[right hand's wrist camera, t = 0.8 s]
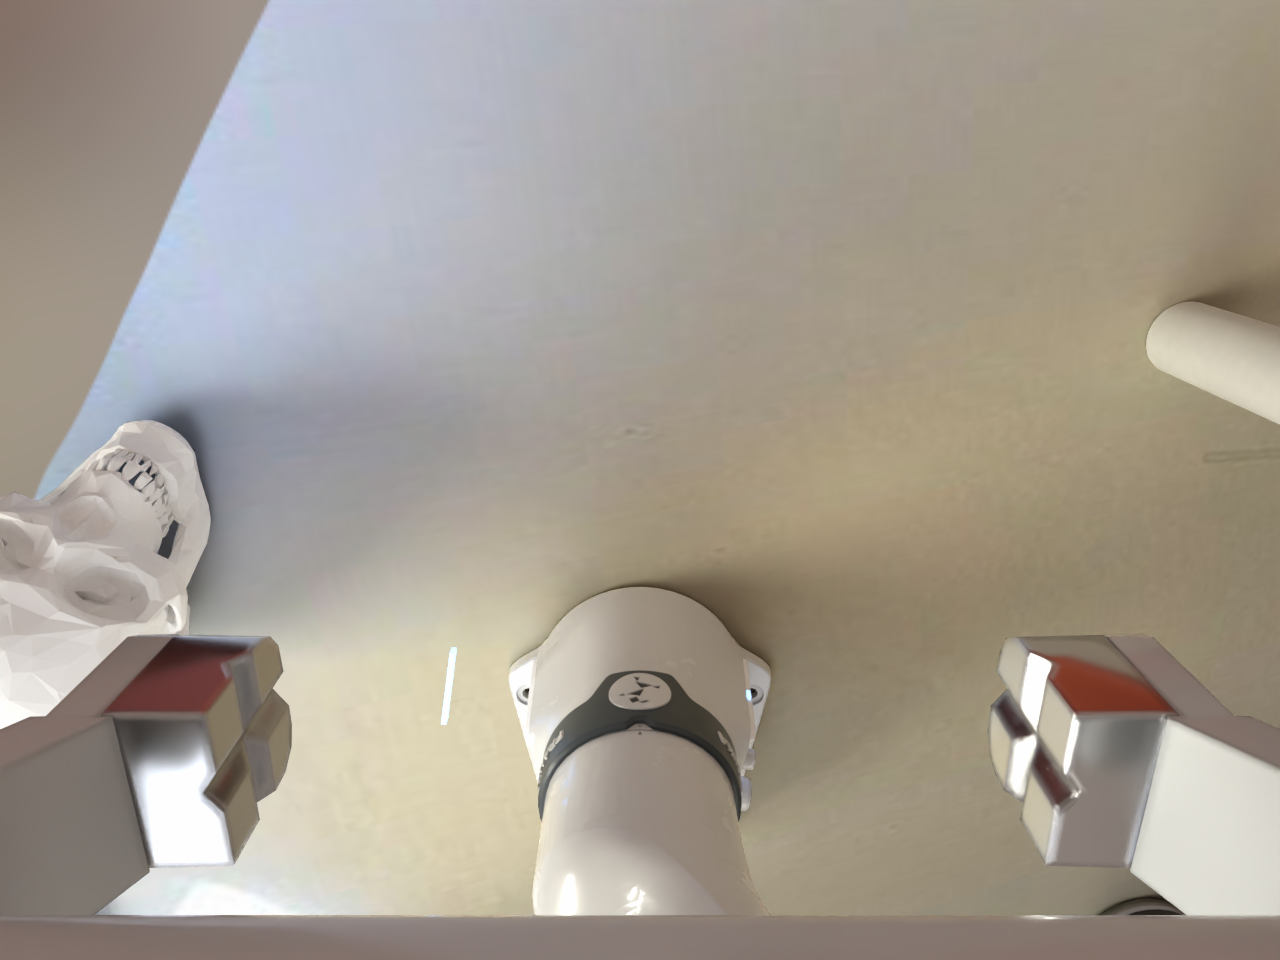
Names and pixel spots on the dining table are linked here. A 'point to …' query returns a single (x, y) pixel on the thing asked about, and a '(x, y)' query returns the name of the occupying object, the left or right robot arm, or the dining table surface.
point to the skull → (96, 564)
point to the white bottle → (1220, 354)
